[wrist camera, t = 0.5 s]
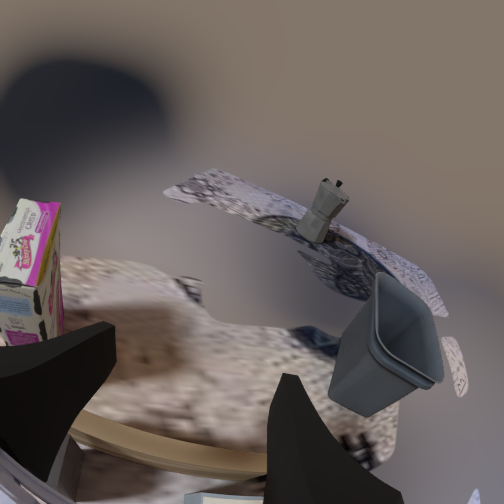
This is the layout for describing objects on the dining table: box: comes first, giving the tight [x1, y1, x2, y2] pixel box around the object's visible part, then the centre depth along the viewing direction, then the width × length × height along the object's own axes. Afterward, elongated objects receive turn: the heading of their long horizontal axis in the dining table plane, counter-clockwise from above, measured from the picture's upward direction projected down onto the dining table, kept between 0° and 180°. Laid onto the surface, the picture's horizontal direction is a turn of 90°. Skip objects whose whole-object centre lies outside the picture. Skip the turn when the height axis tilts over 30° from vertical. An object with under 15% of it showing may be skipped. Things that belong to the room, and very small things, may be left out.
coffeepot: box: [296, 178, 349, 243], centre depth 76 cm, size 15×9×18 cm, turn 7°
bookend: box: [45, 433, 84, 502], centre depth 12 cm, size 6×3×9 cm, turn 0°
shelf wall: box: [68, 409, 267, 481], centre depth 19 cm, size 2×18×7 cm, turn 90°
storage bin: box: [328, 272, 444, 417], centre depth 38 cm, size 21×16×14 cm
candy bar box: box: [0, 199, 64, 346], centre depth 20 cm, size 11×5×16 cm, turn 23°
